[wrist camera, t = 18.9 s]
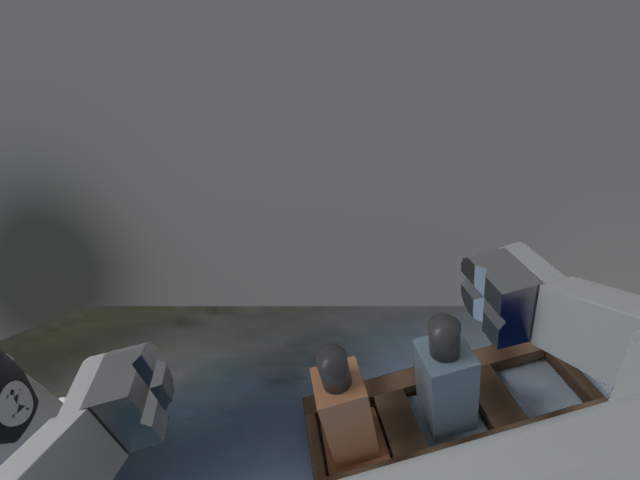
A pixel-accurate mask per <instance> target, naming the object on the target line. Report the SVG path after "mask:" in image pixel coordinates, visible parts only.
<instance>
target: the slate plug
mask: <svg viewBox="0 0 640 480" xmlns="http://www.w3.org/2000/svg"><path fill="white" fill-rule="evenodd" d="M412 348H413V359H414V370H415V381H416V392H417V402H418V405H419V407H420V409H421V411H422V414H423V416H424V418H425V420H426V423H427V425H428V427H429V429H430V432H431V434H432V436H433V438H434V441H438V440H442V439H445V438H448V437H452V436H455V435H459V434H462V433H466V432H469V431H473V430H476V429H477V428H478V411H479V394H480V377H481V363H480V362H479V360H478V359H477V357H476V356H475V354H474V353H473V351H472V350H471V348H470V347H469V345H468V344H467V342H466V341H465V339H464V338H463V336H462V335H461V324H460V322H459V321H458V319H456V318H455V317H453V316H451V315H448V314H438V315H435V316H433V317H432V318H431V319H430V320H429V322H428V335H427V336H423V337H420V338H416V339H412Z"/></svg>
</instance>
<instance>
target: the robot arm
mask: <svg viewBox="0 0 640 480" xmlns="http://www.w3.org/2000/svg"><path fill="white" fill-rule="evenodd" d="M461 271H462V272H463V274H464V275H465V276H466V278H465V279H464V281H463V282H462V284H461V294H462V298H463V301H464V304H465V306H466V308H467V310H468V312H469V313H470V315H471V316H472V317H473V318H474V319H476V320H479V321H481V322H483V326H482V331H483V332H484V333H485V335H486V336H487V337H488V338H489V340H490V341H491V342H492V344H493V345H494V346H495V348H496V349H497V350H498V349H502V348H506V347H510V346H514V345H518V344H522V343H526V342H530V341H531V344H533V345H535V346H537V347H538V348H540V349H542V350H544V351H546V352H548V353H549V354H551V355H553V356H555V357H557V358H559V359H561V360H562V361H564V362H566V363H568V364H570V365H572V366H573V367H575V368H577V369H579V370H581V371H583V372H584V373H586V374H588V375H590V376H592V377H594V378H595V379H597V380H599V381H601V382H603V383H605V384H606V385H608V386H610V387H612V390H611V393H610V396H609V398H608V401H607V402H604V403H600V404H597V405H593V406H590V407H586V408H583V409H579V410H576V411H572V412H569V413H566V414H562V415H559V416H555V417H552V418H548V419H545V420H541V421H538V422H534V423H531V424H528V425H524V426H521V427H517V428H514V429H510V430H507V431H503V432H500V433H497V434H493V435H490V436H486V437H483V438H479V439H476V440H472V441H469V442H465V443H462V444H459V445H455V446H452V447H448V448H445V449H441V450H438V451H434V452H431V453H427V454H424V455H421V456H417V457H414V458H410V459H407V460H403V461H400V462H396V463H393V464H390V465H386V466H383V467H379V468H376V469H372V470H369V471H365V472H362V473H358V474H355V475H352V476H348V477H345V478H341V479H338V480H640V295H637V294H634V293H630V292H627V291H623V290H619V289H616V288H613V287H609V286H606V285H602V284H599V283H595V282H592V281H588V280H584V279H581V278H578V277H574V276H572V277H568V278H567V277H565V276H564V275H563V274H562V273H561V272H559V271H558V270H557V269H556V268H554V267H553V266H552V265H551V264H549V263H548V262H547V261H546V260H544V259H543V258H542V257H541V256H539V255H538V254H537V253H535V252H534V251H533V250H532V249H530V248H529V247H528V246H526V244H524V243H520V242H518V243H514V244H511V245H507V246H504V247H501V248H499V249H495V250H491V251H488V252H484V253H480V254H477V255H473V256H469V257H466V258H463V261H462V263H461ZM158 353H159V352H158V350H157V349H156V347H155V346H154V344H153V343H148V342H147V343H143V344H139V345H135V346H131V347H127V348H123V349H118V350H114V351H110V352H108V353H104V354H99V355H95V356H91V357H88V358H87V359H86V360H84V361H83V363H82V365H81V367H80V369H79V371H78V373H77V375H76V378H75V380H74V382H73V384H72V386H71V388H70V390H69V392H68V394H67V396H66V398H64V397H62V398H57V397H56V396H54V395H53V394H52V393H51V392H49V391H48V390H47V389H45V388H44V387H43V386H42V385H40V384H39V383H38V382H36V381H35V380H34V379H33V378H31V377H30V376H29V375H27V374H26V373H25V372H24V371H23V370H22V369H21V368H20V367H19V366H18V365H17V364H16V363H15V362H14V361H13V360H14V359H13V358H12V357H11V356H10V355H9V354H7V353H5V352H4V351H3V350H2V349H0V480H113V479H114V477H115V476H116V474H117V473H118V471H119V470H120V468H121V467H122V465H123V464H124V462H125V461H126V459H127V458H128V456H129V455H128V454H129V453H133V452H136V451H139V450H142V449H146V448H149V447H152V446H155V445H159V444H162V443H164V440H165V435H166V430H167V425H168V420H169V416H168V415H167V413H166V412H165V409H166V408H167V407H168V405H169V404H170V403H171V401H172V399H173V393H174V385H173V377H172V374H171V371H170V369H169V367H168V366H167V364H166V363H163V362H161V361H159V360H157V357H158Z"/></svg>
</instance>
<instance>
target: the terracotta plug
mask: <svg viewBox="0 0 640 480" xmlns="http://www.w3.org/2000/svg"><path fill="white" fill-rule="evenodd" d="M315 362H316V365H317V366H315V367H312V368H309V369H310V375H311V380H312V385H313V391H314V396H315V402H316V407H317V412H318V415H319V418H320V421H321V423H322V426H323V429H324V432H325V435H326V438H327V441H328V444H329V447H330V450H331V453H332V456H333V459H334V462H335V465H336V468H337V470H338V469H342V468H345V467H349V466H352V465H356V464H359V463H362V462H366V461H369V460H373V459H376V458H380V457H381V456H380V451H379V447H378V442H377V437H376V432H375V427H374V422H373V417H372V412H371V408H370V403H369V398H368V394H367V391H366V388H365V385H364V382H363V379H362V376H361V373H360V369H359V366H358V363H357V360H356V357H355V356H351V357H348V358H347V356H346V352H345V350H344V348H342V347H341V346H339V345H336V344H329V345H326V346H323V347H322V348H320V349H319V350H318V352H317V353H316V356H315Z"/></svg>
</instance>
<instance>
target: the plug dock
mask: <svg viewBox="0 0 640 480" xmlns="http://www.w3.org/2000/svg"><path fill="white" fill-rule="evenodd" d="M473 353H474V354H475V356H476V357H477V359H478V360H479V362H480V363H481V377H480V394H479V413H480V415H481V417H482V418H483V420H484V422H485V423H486V425H487V427H488V428H489V430H488V429H487V428H486V426H485V424H484V423H483V421H482V419H481V418H480V416H479V414H478V428H477V429H476V430H473V431H469V432H466V433H462V434H459V435H455V436H452V437H448V438H445V439H442V440H438V441H434V438H433V436H432V434H431V432H430V429H429V427H428V425H427V423H426V420H425V418H424V416H423V414H422V411H421V409H420V407H419V405H418V402H417V395H414V394H417V392H416V381H415V370H414V367H412V368H408V369H405V370H401V371H398V372H394V373H390V374H387V375H383V376H380V377H376V378H372V379H369V380H365V381H363V382H364V385H365V388H366V391H367V394H368V398H369V403H370V407H371V412H372V417H373V422H374V427H375V432H376V437H377V442H378V447H379V451H380V456H381V457H380V458H376V459H373V460H369V461H366V462H362V463H359V464H356V465H352V466H349V467H345V468H342V469H338V470H337V468H336V465H335V462H334V459H333V456H332V453H331V450H330V447H329V444H328V441H327V438H326V435H325V432H324V429H323V426H322V423H321V422H320V427H321V432H322V438H323V443H324V449H325V454H326V460H327V465H328V471H329V477H327V471H326V466H325V460H324V454H323V449H322V443H321V437H320V432H319V426H318V422H319V421H320V418H319V415H318V412H317V407H316V402H315V396H314V395H311V396H308V397H304V398H302V400H303V407H304V414H305V421H306V427H307V434H308V441H309V448H310V454H311V461H312V468H313V475H314V480H338V479H341V478H345V477H348V476H352V475H355V474H358V473H362V472H365V471H369V470H372V469H376V468H379V467H383V466H386V465H390V464H393V463H396V462H400V461H403V460H407V459H410V458H414V457H417V456H421V455H424V454H427V453H431V452H434V451H438V450H441V449H445V448H448V447H452V446H455V445H459V444H462V443H465V442H469V441H472V440H476V439H479V438H483V437H486V436H490V435H493V434H497V433H500V432H503V431H507V430H510V429H514V428H517V427H521V426H524V425H528V424H531V423H534V422H538V421H541V420H545V419H548V418H552V417H555V416H559V415H562V414H566V413H569V412H572V411H576V410H579V409H583V408H586V407H590V406H593V405H597V404H600V403H604V402H607V401H608V400H607V399H606V398H605V397H604V396H603V395H602V394H601V393H600V392H599V391H598V390H597V389H596V388H595V387H594V386H593V384H592V383H591V382H590V381H589V380H588V379H587V378H586V377H585V376H584V375H583V374H582V373H581V372H580V371H579V370H578V369H577V368H575V367H573V366H572V365H570V364H568V363H566V362H564V361H562V360H561V359H559V358H557V357H555V356H553V355H551V354H549V353H548V352H546V351H544V350H542V349H540V348H538V347H537V346H535V345H533V344H531V341H530V342H526V343H522V344H518V345H514V346H510V347H506V348H502V349H498V350H497V349H496V348H495V346H494V345H491V346H487V347H484V348H480V349H477V350H473ZM542 358H545V359H546V360H547V361H548V363H549V364H550V365H551V366H552V367H553V368H554V369H555V371H556V372H557V373H558V374H559V375H560V376H561V377H562V379H563V380H564V381H565V382H566V383H567V384H568V385H569V387H570V388H571V389H572V390H573V391H574V392H575V393H576V395H577V396H578V397H579V398H580V399H581V400H582V401H583V403H582V404H578V405H575V406H571V407H568V408H564V409H561V410H558V411H554V412H551V413H547V414H544V415H540V416H537V417H533V418H530V419H528V418H527V417H526V415H525V414H524V412H523V411H522V409H521V408H520V407H519V405H518V404H517V402H516V401H515V399H514V398H513V397H512V395H511V394H510V392H509V391H508V389H507V388H506V387H505V385H504V384H503V382H502V381H501V380H500V378H499V377H498V375H497V374H496V371H500V370H503V369H507V368H510V367H514V366H517V365H521V364H525V363H528V362H532V361H535V360H539V359H542ZM411 395H413V396H411ZM407 396H410V397H407ZM375 405H376V408H377V411H378V414H379V417H380V420H381V423H382V426H383V429H384V432H385V435H386V438H387V441H388V444H389V447H390V450H391V453H392V456H393V458H391V457H390V454H389V451H388V448H387V445H386V442H385V439H384V436H383V433H382V429H381V426H380V423H379V420H378V417H377V414H376V411H375V408H374V407H372V406H375Z"/></svg>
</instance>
